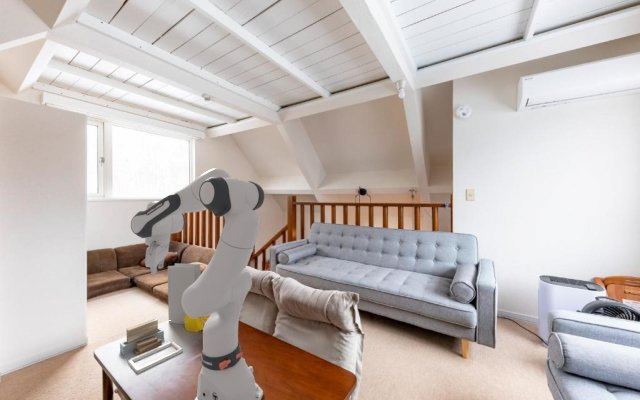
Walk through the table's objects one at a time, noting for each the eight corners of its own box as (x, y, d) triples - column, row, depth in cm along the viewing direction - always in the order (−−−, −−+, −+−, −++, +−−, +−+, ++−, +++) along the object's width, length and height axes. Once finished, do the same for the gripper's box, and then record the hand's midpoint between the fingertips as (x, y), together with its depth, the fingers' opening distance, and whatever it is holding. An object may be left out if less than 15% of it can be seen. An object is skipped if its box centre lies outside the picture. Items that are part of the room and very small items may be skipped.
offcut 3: (162, 346, 108) (162, 343, 108) (137, 356, 101) (137, 353, 101) (157, 342, 111) (157, 339, 111) (133, 352, 104) (133, 349, 104)
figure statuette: (215, 329, 123) (214, 285, 123) (203, 338, 116) (202, 291, 115) (187, 324, 129) (186, 281, 128) (174, 331, 121) (173, 286, 121)
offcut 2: (161, 342, 109) (161, 339, 108) (140, 352, 102) (140, 349, 102) (157, 339, 111) (157, 336, 111) (136, 349, 104) (136, 346, 104)
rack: (171, 346, 110) (170, 335, 110) (129, 364, 98) (129, 353, 98) (159, 337, 117) (159, 327, 117) (119, 353, 105) (119, 342, 105)
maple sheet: (158, 339, 113) (157, 319, 113) (128, 351, 104) (128, 330, 104) (156, 338, 114) (155, 318, 114) (126, 350, 106) (126, 328, 105)
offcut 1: (157, 341, 107) (157, 338, 107) (137, 348, 102) (137, 345, 102) (155, 338, 110) (155, 335, 110) (135, 345, 105) (135, 342, 105)
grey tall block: (201, 320, 132) (200, 264, 132) (195, 326, 127) (194, 267, 126) (175, 319, 134) (175, 263, 133) (168, 324, 128) (167, 266, 128)
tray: (182, 353, 104) (182, 348, 104) (137, 376, 92) (137, 370, 91) (172, 345, 110) (172, 341, 110) (128, 365, 97) (128, 360, 97)
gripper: (159, 243, 98) (159, 278, 98) (171, 235, 117) (171, 264, 118) (140, 244, 96) (140, 280, 96) (156, 235, 115) (155, 265, 116)
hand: (157, 271), depth 107 cm, fingers open, 8 cm apart
